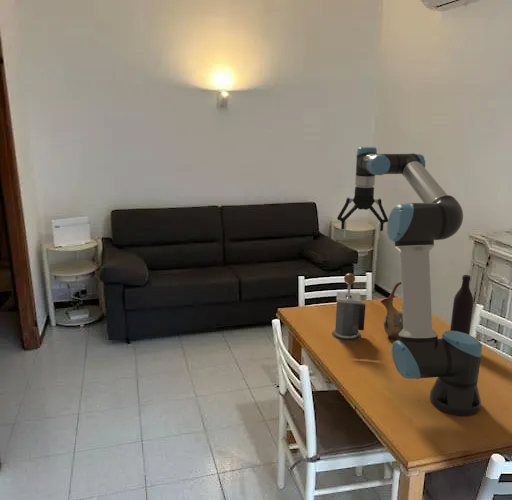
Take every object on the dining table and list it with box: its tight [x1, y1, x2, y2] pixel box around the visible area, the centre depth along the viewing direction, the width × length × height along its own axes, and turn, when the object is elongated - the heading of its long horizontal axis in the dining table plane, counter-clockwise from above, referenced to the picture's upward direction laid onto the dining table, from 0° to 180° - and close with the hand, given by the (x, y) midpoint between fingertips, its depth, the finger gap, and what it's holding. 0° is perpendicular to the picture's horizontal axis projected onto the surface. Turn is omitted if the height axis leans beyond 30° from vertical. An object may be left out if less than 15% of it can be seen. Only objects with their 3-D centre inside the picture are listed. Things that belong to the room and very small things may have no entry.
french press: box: [333, 291, 366, 340], centre depth 203 cm, size 10×12×17 cm
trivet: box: [331, 330, 362, 342], centre depth 206 cm, size 12×12×1 cm
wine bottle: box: [449, 274, 474, 335], centre depth 193 cm, size 7×7×30 cm
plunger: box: [343, 272, 356, 298], centre depth 202 cm, size 7×7×24 cm
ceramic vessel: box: [380, 281, 403, 340], centre depth 201 cm, size 16×9×25 cm, turn 90°
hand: (361, 237), depth 202 cm, fingers open, 13 cm apart
